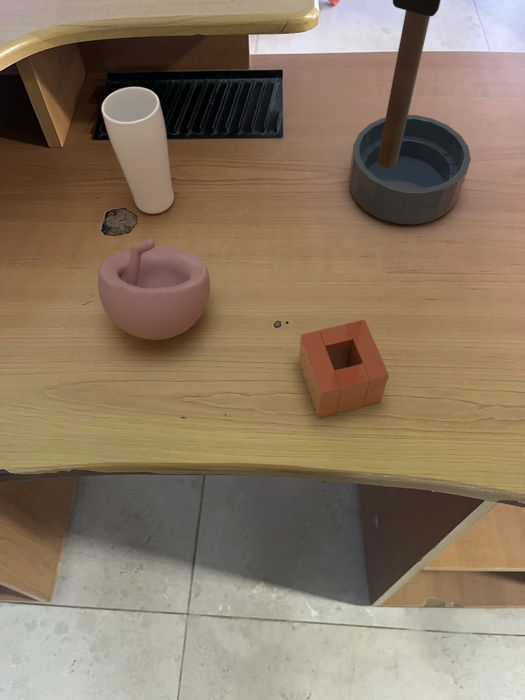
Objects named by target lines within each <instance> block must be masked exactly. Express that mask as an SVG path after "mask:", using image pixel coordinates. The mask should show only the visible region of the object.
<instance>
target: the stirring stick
mask: <svg viewBox="0 0 525 700" xmlns="http://www.w3.org/2000/svg"><path fill="white" fill-rule="evenodd" d="M404 12H405V13H404V19H403V24H402V29H401V34H400V40H399V45H398V50H397V56H396V60H395V67H394V71H393V76H392V82H391V87H390V94H389V98H388V104H387V107H386V113H385V117H386V119H385V124H384V130H383V135H382V140H381V146H380V151H379V156H378V163H379V165H380V166H382V167H384V168H392V167H394V166H396V164H397V162H398V157H399V153H400V148H401V144H402V139H403V135H404V130H405V126H406V122H407V117H408V115H409V112H410V108H411V104H412V98H413V94H414V90H415V87H416V82H417V77H418V72H419V68H420V63H421V59H422V55H423V51H424V45H425V41H426V37H427V32H428V29H429V23H430V19H431V16H426V15H423V14H419V13H415V12H411V11H407V10H405V11H404Z"/></svg>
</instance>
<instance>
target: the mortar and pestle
mask: <svg viewBox="0 0 525 700" xmlns="http://www.w3.org/2000/svg"><path fill="white" fill-rule="evenodd" d="M97 275H98V278H97V287H98V289H97V291H98V295H99V300H100V302H101V305H102V307H103V309H104V311H105V313H106V314H107V316H108V317H109V318H110V320H111V321H112V322H113V323H114V325H116V326H117V327H119V329H121V330H122V331H124V332H126V334H127V333H128V334H129V335H131V336H133V337H136V338H140V339H143V340H151V341H158V340H159V341H161V340H167V339H171V338H174V337H176V336H179V335H181V334H183V333H185V332H186V331H187V330H189V329H190V328H192V326H194V325H195V323H197V321H198V320H199V319H200V318H201V316H202V315H203V313H204V311H205V309H206V307H207V304H208V301H209V296H210V289H211V288H210V287H211V281H210V273H209V269H208V267H207V266H206V264H205V263H204V262H203V260H202V259H200V258H199V257H198V256H197V255H194V254H193V253H191V252H189V251H186V250H185V249H183V248H179V247H176V246H172V245H169V244H157V245H156V242H155V240H154V239H153V238H148V239H147V240H145V241H142V242H137V241H136V242H133V243H132V245H131V247H130V249H128V250H125V251H121V252H118V253H115V254H114V255H112V256H110V257H108V258H106V259H105V260H104V261H103V262H102V263H101V265H100V266H99V267H98V274H97Z"/></svg>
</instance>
